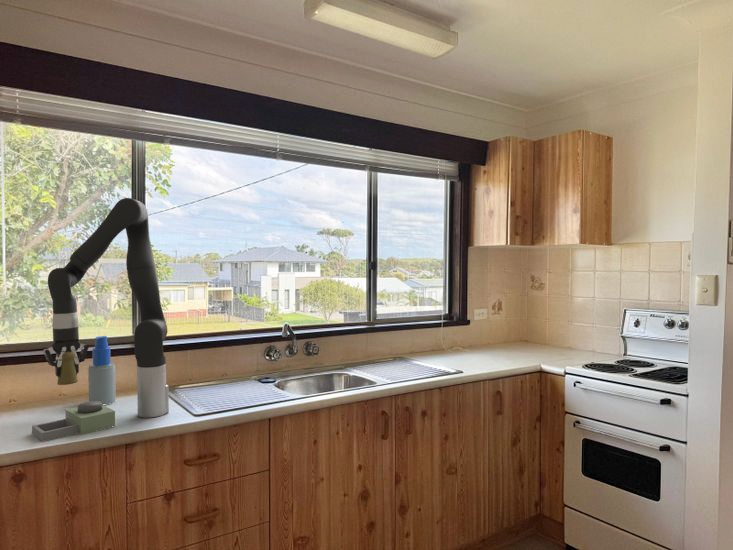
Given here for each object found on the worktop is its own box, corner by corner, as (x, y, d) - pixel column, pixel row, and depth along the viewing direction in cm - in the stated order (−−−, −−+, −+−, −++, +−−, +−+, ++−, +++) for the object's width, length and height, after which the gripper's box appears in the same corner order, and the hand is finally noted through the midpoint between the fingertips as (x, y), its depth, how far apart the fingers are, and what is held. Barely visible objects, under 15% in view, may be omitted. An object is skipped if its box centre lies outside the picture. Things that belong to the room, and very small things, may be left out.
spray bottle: (104, 398, 194) (103, 334, 194) (120, 400, 191) (119, 335, 190) (83, 404, 186) (82, 337, 186) (99, 407, 183) (98, 339, 182)
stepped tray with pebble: (98, 417, 171) (98, 397, 170) (115, 426, 161) (114, 404, 161) (30, 432, 156) (29, 410, 156) (44, 443, 146) (43, 419, 146)
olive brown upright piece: (81, 380, 174) (80, 348, 173) (71, 384, 168) (70, 352, 167) (63, 380, 173) (62, 349, 173) (53, 385, 167) (52, 352, 167)
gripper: (45, 329, 162) (47, 382, 163) (92, 324, 173) (94, 374, 173) (38, 327, 167) (40, 378, 168) (84, 323, 178) (86, 371, 178)
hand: (67, 376), depth 170 cm, fingers closed on olive brown upright piece, 4 cm apart
